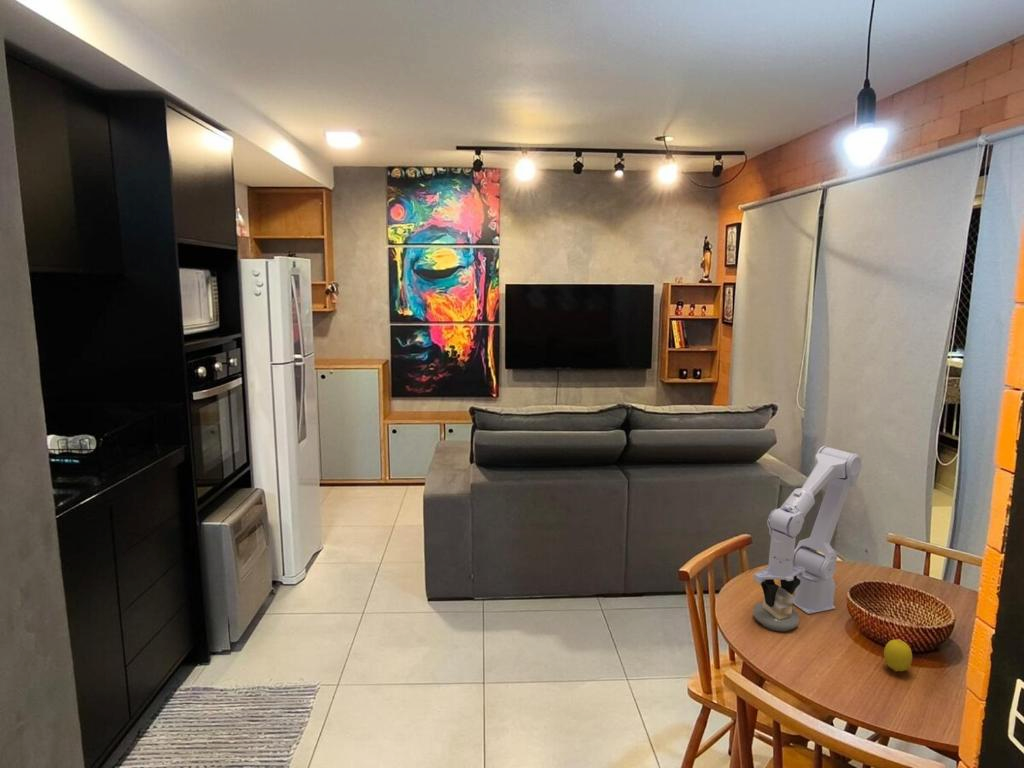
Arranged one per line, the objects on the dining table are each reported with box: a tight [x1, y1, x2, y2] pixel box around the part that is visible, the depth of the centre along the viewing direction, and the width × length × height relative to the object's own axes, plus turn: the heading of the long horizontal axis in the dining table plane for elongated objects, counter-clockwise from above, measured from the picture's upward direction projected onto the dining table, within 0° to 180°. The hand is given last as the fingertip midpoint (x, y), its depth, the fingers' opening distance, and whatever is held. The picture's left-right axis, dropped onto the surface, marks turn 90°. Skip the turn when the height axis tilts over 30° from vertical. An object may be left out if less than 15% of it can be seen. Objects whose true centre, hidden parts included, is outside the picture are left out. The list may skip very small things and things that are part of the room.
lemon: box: [883, 638, 913, 673], centre depth 142 cm, size 6×6×8 cm
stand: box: [752, 601, 800, 632], centre depth 162 cm, size 11×11×2 cm
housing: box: [762, 583, 795, 619], centre depth 161 cm, size 4×6×6 cm, turn 18°
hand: (776, 603), depth 162 cm, fingers open, 4 cm apart
